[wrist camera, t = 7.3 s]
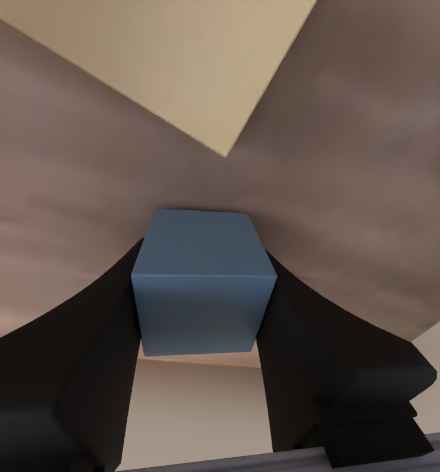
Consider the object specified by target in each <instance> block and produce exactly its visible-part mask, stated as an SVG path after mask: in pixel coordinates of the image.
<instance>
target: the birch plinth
mask: <svg viewBox="0 0 440 472" xmlns="http://www.w3.org/2000/svg"><path fill="white" fill-rule="evenodd" d="M317 1H318V0H0V21H2V22H4V23H5V24H7V25H9V26H10V27H12V28H14V29H15V30H17V31H18V32H20V33H22V34H23V35H25V36H27V37H28V38H30V39H31V40H33V41H35V42H36V43H38V44H40V45H41V46H43V47H45V48H46V49H48V50H49V51H51V52H53V53H54V54H56V55H58V56H59V57H61V58H63V59H64V60H66V61H67V62H69V63H71V64H72V65H74V66H76V67H77V68H79V69H80V70H82V71H84V72H85V73H87V74H89V75H90V76H92V77H94V78H95V79H97V80H98V81H100V82H102V83H103V84H105V85H107V86H108V87H110V88H112V89H113V90H115V91H116V92H118V93H120V94H121V95H123V96H125V97H126V98H128V99H129V100H131V101H133V102H134V103H136V104H138V105H139V106H141V107H143V108H144V109H146V110H147V111H149V112H151V113H152V114H154V115H156V116H157V117H159V118H161V119H162V120H164V121H165V122H167V123H169V124H170V125H172V126H174V127H175V128H177V129H178V130H180V131H182V132H183V133H185V134H187V135H188V136H190V137H192V138H193V139H195V140H196V141H198V142H200V143H201V144H203V145H205V146H206V147H208V148H209V149H211V150H213V151H214V152H216V153H218V154H219V155H221V156H223V157H225V158H226V157H227V156H228V154H229V152H230V151H231V149H232V147H233V146H234V144H235V142H236V140H237V139H238V137H239V135H240V133H241V132H242V130H243V128H244V127H245V125H246V123H247V121H248V120H249V118H250V116H251V114H252V113H253V111H254V109H255V108H256V106H257V104H258V102H259V101H260V99H261V97H262V95H263V94H264V92H265V90H266V89H267V87H268V85H269V83H270V82H271V80H272V78H273V76H274V75H275V73H276V71H277V70H278V68H279V66H280V64H281V63H282V61H283V59H284V58H285V56H286V54H287V52H288V51H289V49H290V47H291V45H292V44H293V42H294V40H295V39H296V37H297V35H298V33H299V32H300V30H301V28H302V26H303V25H304V23H305V21H306V20H307V18H308V16H309V14H310V13H311V11H312V9H313V7H314V6H315V4H316V2H317Z"/></svg>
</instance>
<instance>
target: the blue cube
mask: <svg viewBox="0 0 440 472" xmlns="http://www.w3.org/2000/svg"><path fill="white" fill-rule="evenodd" d="M131 278H132V284H133V290H134V296H135V303H136V309H137V315H138V321H139V327H140V333H141V339H142V346H143V352H144V356H163V355H185V354H208V353H230V352H250V351H251V350H252V347H253V344H254V342H255V339H256V336H257V333H258V330H259V327H260V325H261V322H262V319H263V316H264V313H265V310H266V308H267V305H268V302H269V299H270V296H271V293H272V291H273V288H274V285H275V282H276V279H277V274H276V272H275V270H274V268H273V266H272V264H271V262H270V260H269V257H268V255H267V253H266V251H265V249H264V247H263V245H262V243H261V240H260V238H259V236H258V234H257V232H256V230H255V228H254V225H253V223H252V221H251V219H250V217H249V215H248V214H247V213H232V212H214V211H196V210H178V209H160V208H156V209H155V211H154V214H153V216H152V219H151V222H150V225H149V227H148V230H147V233H146V236H145V238H144V241H143V244H142V247H141V249H140V252H139V255H138V257H137V260H136V263H135V266H134V268H133V271H132V274H131Z"/></svg>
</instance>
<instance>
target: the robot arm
mask: <svg viewBox="0 0 440 472" xmlns="http://www.w3.org/2000/svg"><path fill="white" fill-rule="evenodd" d="M143 241H144V238H142V239H140V240H139V241H138V242H137V243H136V244H135V245H134V246H133V247H132V248H131V249H130V250H129V251H128V252H127V253H126V254H125V255H124V256H123V257H122V258H121V259H120V260H119V261H118V262H117V263H116V264H115V265H113V266H112V267H111V268H110V269H109V270H108V271H106V272H105V273H104V274H103V275H102V276H100V277H99V278H98V279H97V280H95V281H94V282H93V283H92V284H90V285H89V286H87V287H86V288H85V289H83V290H82V291H80V292H79V293H78V294H76V295H75V296H73V297H71V298H70V299H68V300H67V301H65V302H63V303H62V304H60V305H59V306H57V307H55V308H54V309H52V310H51V311H49V312H47V313H45V314H44V315H42V316H40V317H38V318H37V319H35V320H33V321H31V322H29V323H28V324H26V325H24V326H22V327H20V328H18V329H16V330H14V331H13V332H11V333H9V334H7V335H5V336H3V337H1V338H0V472H114V471H115V470H116V468H117V467H118V466H119V464H120V463H121V459H122V451H123V444H124V438H125V431H126V424H127V416H128V410H129V404H130V398H131V392H132V386H133V380H134V373H135V367H136V362H137V357H138V351H139V346H140V340H141V333H140V327H139V321H138V315H137V309H136V303H135V296H134V290H133V284H132V278H131V274H132V271H133V268H134V266H135V263H136V260H137V257H138V255H139V252H140V249H141V247H142V244H143ZM264 249H265V248H264ZM265 251H266V253H267V255H268V257H269V260H270V262H271V264H272V266H273V268H274V270H275V272H276V274H277V279H276V282H275V285H274V288H273V291H272V293H271V296H270V299H269V302H268V305H267V308H266V310H265V313H264V316H263V319H262V322H261V325H260V327H259V330H258V333H257V336H256V341H257V346H258V352H259V357H260V363H261V369H262V375H263V381H264V387H265V394H266V401H267V408H268V416H269V423H270V431H271V439H272V448H273V453H266V454H257V455H249V456H241V457H232V458H224V459H216V460H207V461H199V462H191V463H183V464H174V465H166V466H158V467H149V468H141V469H132V470H125V471H117V472H440V433H432V434H424V433H423V432H422V431H421V429H420V428H419V426H418V425H417V423H416V422H415V421H414V419H413V417H416V416H417V412H416V410H415V409H414V408H413V406H412V405H411V403H410V402H409V401H410V400H411V399H413V398H414V397H416V396H417V395H418V394H420V393H421V392H423V391H424V390H426V389H427V388H428V387H429V386H431V385H432V384H433V383H434V382H435V380H436V378H437V371H436V370H435V369H434V368H433V366H432V365H431V364H430V363H429V362H428V361H427V359H426V358H425V357H424V356H423V355H422V354H421V353H420V352H419V351H418V349H417V348H416V347H415V346H414V345H413V344H412V343H411V342H409V341H407V340H404V339H402V338H400V337H398V336H396V335H394V334H391V333H389V332H387V331H385V330H383V329H381V328H378V327H376V326H374V325H372V324H370V323H368V322H366V321H365V320H363V319H361V318H359V317H357V316H355V315H353V314H351V313H350V312H348V311H346V310H344V309H342V308H341V307H339V306H338V305H336V304H334V303H333V302H331V301H329V300H328V299H326V298H325V297H323V296H322V295H320V294H319V293H317V292H316V291H314V290H313V289H311V288H310V287H309V286H307V285H306V284H305V283H303V282H302V281H301V280H299V279H298V278H297V277H296V276H294V275H293V274H292V273H291V272H290V271H288V270H287V269H286V268H285V267H284V266H283V265H282V264H280V263H279V262H278V261H277V260H276V259H275V258H274V257H273V256H272V255H271V254H270V253H269V252H268V251H267V250H266V249H265Z"/></svg>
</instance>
